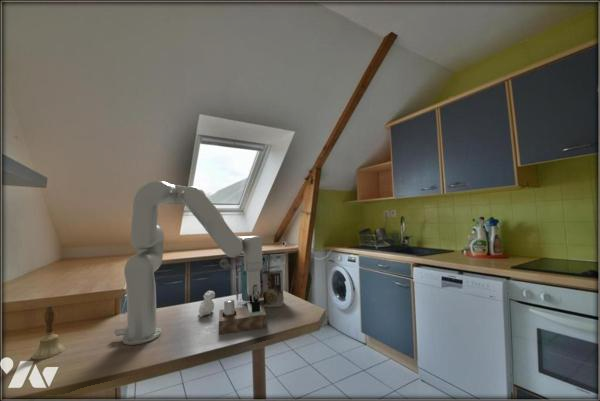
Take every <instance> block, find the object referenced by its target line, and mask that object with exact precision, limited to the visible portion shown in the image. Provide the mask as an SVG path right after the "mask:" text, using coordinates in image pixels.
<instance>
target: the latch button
mask: <svg viewBox="0 0 600 401" xmlns="http://www.w3.org/2000/svg"><path fill="white" fill-rule="evenodd" d="M246 306H247V307H248V312H249V317H250V316H257V315H262V309H261V307H260V311H258V312H252V304H250V302H246Z"/></svg>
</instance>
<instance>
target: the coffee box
mask: <svg viewBox="0 0 600 401" xmlns="http://www.w3.org/2000/svg"><path fill="white" fill-rule="evenodd" d="M262 276H263V298H262V299H263V308H275V307H276V308H279V307H280V308H282V307H283V305H284V302H285V299H284V298H285V297H284V281H283V280H284V279H283V278H284V275H283V269H277V270H274V269H270V271H268V270H267V271H265V272H264V273H263V274H262Z"/></svg>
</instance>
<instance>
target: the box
mask: <svg viewBox="0 0 600 401" xmlns="http://www.w3.org/2000/svg"><path fill="white" fill-rule="evenodd" d="M234 258H235V287H236V288H235V289H236V291H235V292H236V293H235V296H236V302H239V303H237V305H240V304H242V302H243V303H244V302H250V296H248V293H247V271H245V270H244V253H241V254H240V255H239V256H237V257H234ZM271 263H272V260H271V254H270V253H269V252H267V251H266V252H263V251H262V265H263V269H261V270H260V295H259V300H261V299H264V298H263V276H262V274H263V273H264V272H265V271H271ZM219 265H220V267H221V268H223V269H224V270H225V269H226V270H227V269H229V268H232V267H233V265H231V264H230V263H229V260H228V259H227V258H222V259H221V260H219ZM238 265H240V271H238ZM239 272H240V275H239ZM238 278H239V280H238ZM239 284H240V287H239ZM239 289H240V293H239ZM239 294H240V295H239ZM239 300H240V301H239ZM261 303H262V301H260V304H261Z"/></svg>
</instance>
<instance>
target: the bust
mask: <svg viewBox="0 0 600 401" xmlns="http://www.w3.org/2000/svg"><path fill="white" fill-rule="evenodd" d="M215 297H216V293H215V291H214V290H207V291H206V292H205V293H204V294H203V299H204V300H202V301H201V303H200V305H199V307H198V314H199V317H200V318H202V317H204V316H206V315H207V316H208V315H211V314H212V313H213V311H214V309H215V303H214V301H213V299H214V298H215Z"/></svg>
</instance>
